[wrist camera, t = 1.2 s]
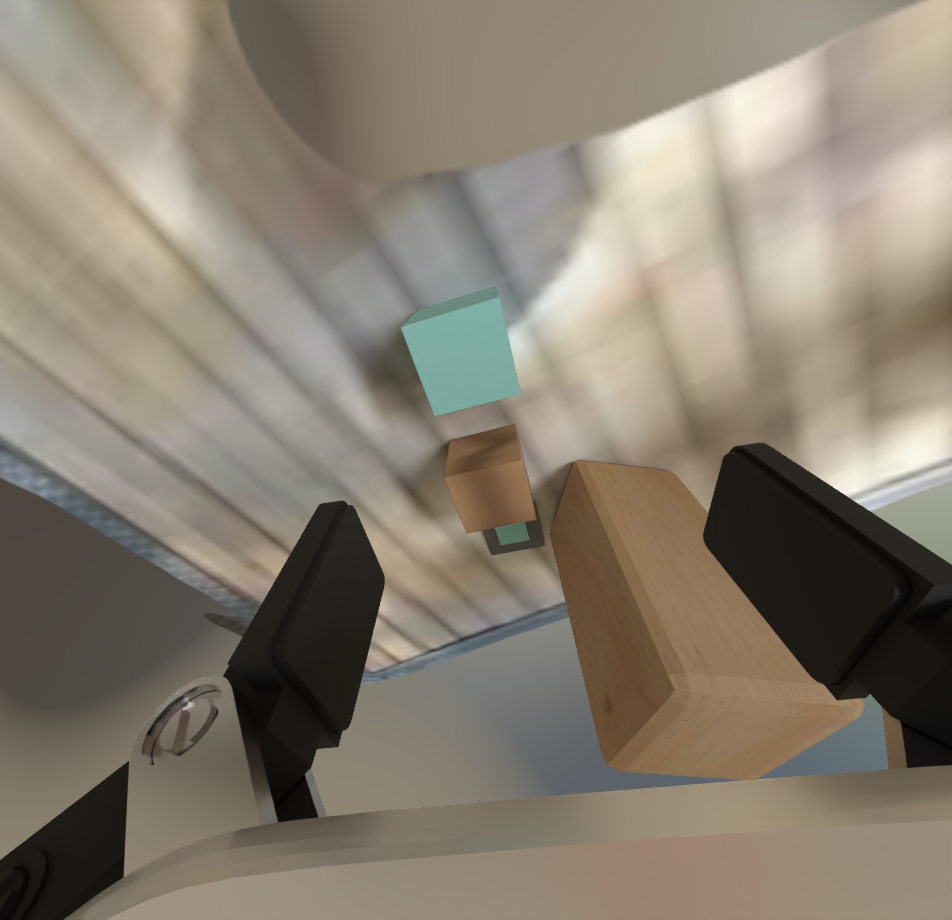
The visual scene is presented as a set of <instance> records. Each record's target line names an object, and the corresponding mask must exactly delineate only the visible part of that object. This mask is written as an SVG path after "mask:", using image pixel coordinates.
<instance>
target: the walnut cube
mask: <svg viewBox="0 0 952 920" xmlns="http://www.w3.org/2000/svg"><path fill="white" fill-rule="evenodd" d="M444 479H445V481H446V483H447V486H448V488H449V491H450V493H451V496H452V498H453V501H454V503H455V506H456V508H457V511H458V513H459V516H460V518H461V521H462V523H463V526H464V528H465V531H466V533H471V532H476V531H481V530H486V529H491V528H496V527H501V526H506V525H511V524H516V523H521V522H526V521H531V520H536V515H535V510H534V505H533V500H532V495H531V490H530V485H529V480H528V475H527V471H526V467H525V463H524V459H523V455H522V451H521V447H520V443H519V439H518V435H517V431H516V427H515V424H514V425H509V426H505V427H501V428H497V429H493V430H489V431H485V432H481V433H477V434H473V435H468V436H464V437H460V438H456V439H452V440H450V444H449V450H448V456H447V462H446V469H445V475H444Z"/></svg>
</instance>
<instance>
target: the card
mask: <svg viewBox="0 0 952 920" xmlns="http://www.w3.org/2000/svg"><path fill="white" fill-rule="evenodd" d="M533 505H534V510H535V515H536V520H531V521H526V522H521V523H516V524H511V525H506V526H501V527H496V528H491V529H486V530H482V531H483V534H484V536H485V539H486V542H487V545H488V547H489V550H490V553H491V555H496V554H501V553H507V552H512V551H518V550H523V549H528V548H534V547H539V546H545V544H544V540H543V536H542V532H541V528H540V524H539V520H538V516H537V512H536V508H535V504H534V502H533Z"/></svg>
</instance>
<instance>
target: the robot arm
mask: <svg viewBox="0 0 952 920" xmlns="http://www.w3.org/2000/svg"><path fill="white" fill-rule="evenodd" d="M703 540H704V543H705V545H706V547H707V548H708V550H709V551H710V552H711V553H712V555H713V556H714V557H715V558H716V560H717V561H718V562H719V563H720V565H721V566H722V567H723V568H724V570H725V571H726V572H727V573H728V575H729V576H730V577H731V578H732V580H733V581H734V582H735V583H736V584H737V586H738V587H739V588H740V589H741V591H742V592H743V593H744V594H745V596H746V597H747V598H748V599H749V601H750V602H751V603H752V604H753V606H754V607H755V608H756V609H757V611H758V612H759V613H760V614H761V616H762V617H763V618H764V619H765V621H766V622H767V623H768V624H769V626H770V627H771V628H772V629H773V631H774V632H775V633H776V634H777V636H778V637H779V638H780V639H781V641H782V642H783V643H784V644H785V646H786V647H787V648H788V649H789V651H790V652H791V653H792V654H793V656H794V657H795V658H796V659H797V661H798V662H799V663H800V664H801V666H802V667H803V668H804V669H805V671H806V672H807V673H808V674H809V675H810V676H811V677H812V678H813V679H814V680H815V681H817V682H819V683H821V684H824V685H825V687H826V688H827V689H828V690H829V692H830V693H831V694H832V695H833V696H834V698H835V699H836V700H848V699H859V698H866V697H867V696H868V695H869V694H871V695H872V696H873V697H874V698H875V700H876V701H877V702H878V703H879V704H880V705H881V706H882V712H883V721H884V730H885V739H886V748H887V757H888V765H889V770H878V771H864V772H851V773H838V774H825V775H811V776H799V777H785V778H772V779H759V780H745V781H733V782H721V783H709V784H696V785H685V786H684V785H683V786H671V787H658V788H647V789H634V790H622V791H609V792H597V793H585V794H573V795H561V796H548V797H536V798H525V799H514V800H502V801H490V802H478V803H467V804H455V805H443V806H432V807H420V808H408V809H397V810H385V811H376V812H366V813H357V814H348V815H339V816H330V817H327V814H326V811H325V808H324V805H323V803H322V799H321V797H320V794H319V791H318V788H317V785H316V782H315V779H314V776H313V773H312V771H311V766H312V763H313V760H314V756H315V753H316V750H317V749H321V748H332V747H338V746H339V742H340V738H341V734H342V731H343V730H346V729H347V728H348V727H349V725H350V723H351V720H352V716H353V712H354V708H355V704H356V700H357V696H358V692H359V687H360V684H361V680H362V675H363V671H364V667H365V663H366V659H367V655H368V651H369V647H370V643H371V639H372V635H373V630H374V626H375V622H376V618H377V614H378V610H379V606H380V602H381V598H382V594H383V590H384V583H385V580H384V574H383V571H382V569H381V567H380V564H379V562H378V560H377V557H376V555H375V553H374V551H373V548H372V546H371V544H370V542H369V539H368V537H367V535H366V532H365V530H364V528H363V526H362V523H361V521H360V519H359V517H358V514H357V512H356V510H355V508H354V507H353V506H352V505H348V504H347V503H346V502H345V501H336V502H329V503H322V504H320V505H319V506H318V507H317V509H316V511H315V513H314V514H313V516H312V518H311V520H310V521H309V523H308V525H307V526H306V528H305V530H304V532H303V533H302V535H301V537H300V539H299V540H298V542H297V544H296V546H295V547H294V549H293V551H292V553H291V554H290V556H289V558H288V559H287V561H286V563H285V565H284V566H283V568H282V570H281V572H280V573H279V575H278V577H277V579H276V580H275V582H274V584H273V585H272V587H271V589H270V591H269V592H268V594H267V596H266V598H265V599H264V601H263V603H262V605H261V606H260V608H259V610H258V612H257V613H256V615H255V617H254V618H253V620H252V622H251V624H250V625H249V627H248V629H247V631H246V632H245V634H244V636H243V638H242V639H241V641H240V643H239V645H238V646H237V648H236V650H235V651H234V653H233V655H232V657H231V659H230V660H229V662H228V665H229V667H228V669H227V670H226V672H225V674H224V676H223V677H222V676H220V675H208V676H205V677H202V678H199V679H196V680H194V681H192V682H190V683H189V684H187V685H185V686H183V687H181V688H180V689H179V690H177V691H176V692H175V693H174V694H172V695H171V696H170V697H168V698H167V699H166V700H165V701H164V702H163V703H162V704H161V705H160V706H159V707H158V708H157V709H156V710H155V711H154V712H153V713H152V715H151V716H150V717H149V719H148V720H147V721H146V723H145V724H144V725H143V727H142V728H141V730H140V732H139V734H138V736H137V738H136V739H135V741H134V744H133V746H132V751H131V755H130V759H129V761H128V762H127V763H126V764H124V765H123V766H122V767H120V768H119V769H118V770H116V771H115V772H114V773H113V774H111V775H110V776H109V777H107V778H106V779H105V780H104V781H102V782H101V783H100V784H98V785H97V786H96V787H94V788H93V789H92V790H91V791H89V792H88V793H87V794H85V795H84V796H83V797H82V798H80V799H79V800H78V801H76V802H75V803H74V804H72V805H71V806H70V807H69V808H67V809H66V810H65V811H63V812H62V813H61V814H59V815H58V816H57V817H56V818H54V819H53V820H52V821H51V822H49V823H48V824H47V825H45V826H44V827H43V828H41V829H40V830H39V831H37V832H36V833H35V834H33V835H32V836H31V837H30V838H28V839H27V840H26V841H24V842H23V843H22V844H20V845H19V846H18V847H17V848H15V849H14V850H13V851H11V852H10V853H9V854H7V855H6V856H5V857H4V858H2V859H1V860H0V920H952V565H951V564H950V563H948V562H946V561H945V560H944V559H942V558H940V557H939V556H937V555H936V554H934V553H933V552H931V551H930V550H928V549H927V548H925V547H924V546H922V545H921V544H919V543H917V542H916V541H914V540H913V539H911V538H910V537H908V536H907V535H905V534H904V533H902V532H901V531H899V530H898V529H896V528H895V527H893V526H891V525H890V524H888V523H887V522H885V521H884V520H882V519H881V518H879V517H878V516H876V515H875V514H873V513H872V512H870V511H868V510H867V509H865V508H864V507H862V506H861V505H859V504H858V503H856V502H855V501H853V500H852V499H850V498H849V497H847V496H846V495H844V494H842V493H841V492H839V491H838V490H836V489H835V488H833V487H832V486H830V485H829V484H827V483H826V482H824V481H823V480H821V479H819V478H818V477H816V476H815V475H813V474H812V473H810V472H809V471H807V470H806V469H804V468H803V467H801V466H800V465H798V464H796V463H795V462H793V461H792V460H790V459H789V458H787V457H786V456H784V455H783V454H781V453H780V452H778V451H777V450H775V449H774V448H772V447H770V446H769V445H767V444H765V443H755V444H748V445H741V446H736V447H733V448H732V449H731V450H730V452H729V453H728V454H726V455H725V456H724V458H723V461H722V465H721V469H720V472H719V476H718V480H717V483H716V487H715V491H714V495H713V498H712V502H711V506H710V509H709V513H708V517H707V520H706V524H705V528H704V532H703Z"/></svg>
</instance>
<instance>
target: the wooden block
mask: <svg viewBox="0 0 952 920" xmlns="http://www.w3.org/2000/svg"><path fill="white" fill-rule="evenodd" d="M707 517H708V513H707V512H706V510H705V509H704V508H703V507H702V506H701V505H700V503H699V502H698V501H697V500H696V499H695V497H694V496H693V495H692V494H691V493H690V491H689V490H688V489H687V488H686V487H685V485H684V484H683V483H682V482H681V481H680V480H679V478H678V477H677V476H676V475H675V474H673V473H671V472H669V471H666V470H660V469H651V468H643V467H635V466H627V465H618V464H610V463H602V462H593V461H585V460H580V461H576V462H575V463H574V464H573V465H572V468H571V471H570V474H569V477H568V480H567V483H566V486H565V489H564V492H563V495H562V498H561V501H560V504H559V507H558V510H557V513H556V516H555V519H554V521H553V524H552V527H551V530H550V537H551V541H552V545H553V549H554V554H555V558H556V562H557V567H558V571H559V575H560V579H561V584H562V588H563V592H564V596H565V601H566V605H567V609H568V613H569V618H570V622H571V626H572V630H573V635H574V639H575V643H576V647H577V652H578V656H579V660H580V665H581V669H582V673H583V677H584V682H585V686H586V690H587V694H588V699H589V703H590V707H591V711H592V715H593V720H594V724H595V728H596V733H597V737H598V741H599V746H600V749H601V754H602V756H603V758H604V760H605V762H606V764H607V765H608V766H610V767H613V768H615V769H617V770H620V771H624V772H637V773H652V774H667V775H681V776H696V777H710V778H725V779H739V780H757V779H758V778H760V777H761V776H763V775H765V774H766V773H768V772H770V771H771V770H773V769H775V768H776V767H778V766H780V765H781V764H783V763H784V762H786V761H788V760H789V759H791V758H793V757H794V756H796V755H798V754H799V753H801V752H803V751H804V750H806V749H807V748H809V747H811V746H812V745H814V744H816V743H817V742H819V741H821V740H822V739H824V738H826V737H827V736H829V735H830V734H832V733H834V732H835V731H837V730H839V729H840V728H842V727H843V726H845V725H847V724H849V723H850V722H852V721H853V720H855V719H856V718H857V717H859V716H860V715H861V713H862V710H863V708H864V704H863V702H862V700H861V698H859V699H848V700H836V699H835V698H834V696H833V695H832V694H831V693H830V692H829V690H828V689H827V688H826V687H825V685H824V684H821V683H819V682H817V681H815V680H814V679H813V678H812V677H811V676H810V675H809V674H808V673H807V672H806V671H805V669H804V668H803V667H802V666H801V664H800V663H799V662H798V661H797V659H796V658H795V657H794V656H793V654H792V653H791V652H790V651H789V649H788V648H787V647H786V646H785V644H784V643H783V642H782V641H781V639H780V638H779V637H778V636H777V634H776V633H775V632H774V631H773V629H772V628H771V627H770V626H769V624H768V623H767V622H766V621H765V619H764V618H763V617H762V616H761V614H760V613H759V612H758V611H757V609H756V608H755V607H754V606H753V604H752V603H751V602H750V601H749V599H748V598H747V597H746V596H745V594H744V593H743V592H742V591H741V589H740V588H739V587H738V586H737V584H736V583H735V582H734V581H733V580H732V578H731V577H730V576H729V575H728V573H727V572H726V571H725V570H724V568H723V567H722V566H721V565H720V563H719V562H718V561H717V560H716V558H715V557H714V556H713V555H712V553H711V552H710V551H709V550H708V548H707V547H706V545H705V543H704V540H703V532H704V528H705V524H706V520H707Z"/></svg>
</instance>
